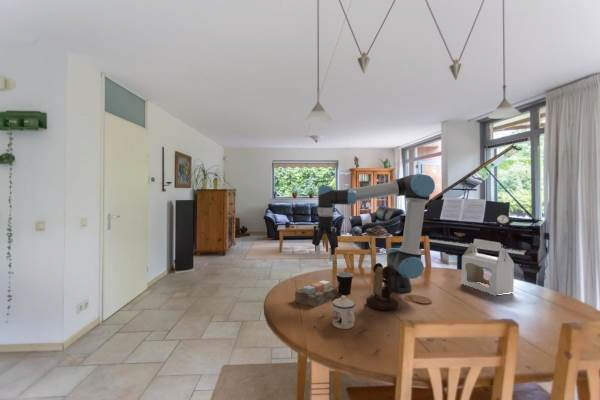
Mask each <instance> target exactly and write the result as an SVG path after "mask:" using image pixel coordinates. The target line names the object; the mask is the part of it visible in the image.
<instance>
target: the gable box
mask: <svg viewBox="0 0 600 400" xmlns="http://www.w3.org/2000/svg"><path fill="white" fill-rule="evenodd" d="M503 246H504V244H502V243H501V242H499V241H493V240H492V241H491V240H486V239H480V238H474V239H473V243H472V242H470V244H469V246H468V248H466V250H465V251H464V252H463V254H462V255H461V285H462V284H464V285H463V286H465V285H467V286H466V287H468V286H470V287H473V288H476V289H479V290H482V291H485V292H488V293H492V294H494V295H498V294H503V293H509V292H513V293H514V281H515V278H514V275H515V262H514V261H513V259H512V257H511V256H510V254H509V253H508V251H507V249H505V248H503ZM478 248H482V249H488V250H493V251H497V252H498V256H492V255H487V254H485V253H479V252H478ZM485 268H486V269H489V270H490V272H491V274H490V276H489V279H485V277H484V274H485V271H484V269H485ZM477 282H481V283H484V284H488V285H489V287H485V286H483V285H481V284H480V283H477ZM470 287H469V288H470ZM473 288H472V289H473ZM476 289H475V290H476ZM479 290H478V291H479ZM482 291H481V292H482ZM485 292H484V293H485ZM488 293H487V294H488Z"/></svg>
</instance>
